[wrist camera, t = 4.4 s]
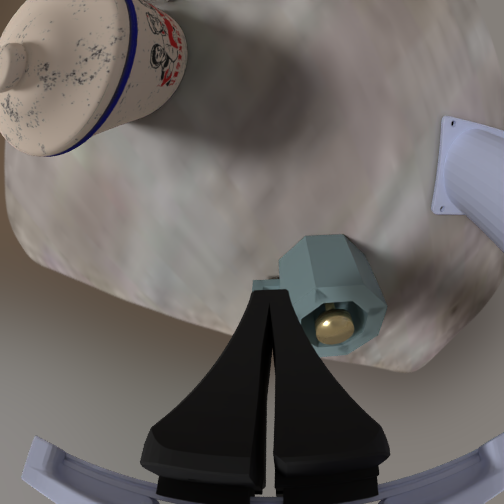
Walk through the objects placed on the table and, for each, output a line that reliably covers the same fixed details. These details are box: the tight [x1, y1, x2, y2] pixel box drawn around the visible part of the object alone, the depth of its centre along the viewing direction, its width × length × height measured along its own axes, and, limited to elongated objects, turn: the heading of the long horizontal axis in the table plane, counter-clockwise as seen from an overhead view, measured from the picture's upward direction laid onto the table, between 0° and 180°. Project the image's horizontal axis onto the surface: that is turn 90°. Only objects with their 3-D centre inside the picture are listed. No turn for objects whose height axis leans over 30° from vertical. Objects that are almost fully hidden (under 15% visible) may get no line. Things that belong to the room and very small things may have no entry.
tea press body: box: [252, 234, 387, 357], centre depth 20 cm, size 9×7×6 cm
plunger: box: [315, 302, 354, 345], centre depth 20 cm, size 4×4×5 cm
